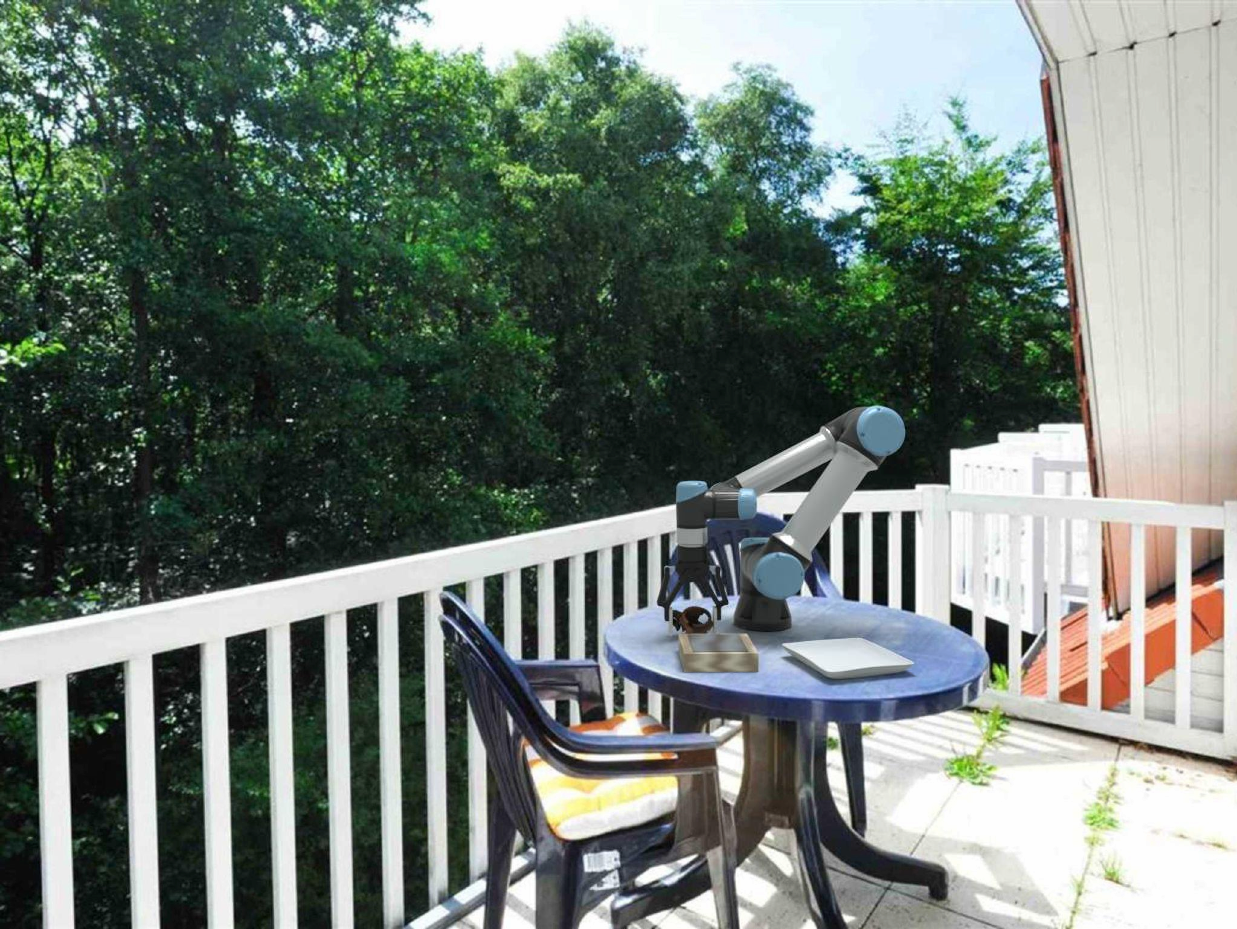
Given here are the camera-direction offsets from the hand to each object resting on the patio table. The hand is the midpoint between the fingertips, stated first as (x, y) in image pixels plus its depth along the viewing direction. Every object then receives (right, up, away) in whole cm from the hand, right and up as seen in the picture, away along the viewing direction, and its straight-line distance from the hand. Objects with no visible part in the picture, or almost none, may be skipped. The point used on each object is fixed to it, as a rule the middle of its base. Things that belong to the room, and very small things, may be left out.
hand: (692, 633), depth 205 cm
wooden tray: (+4, -2, -18) cm, 18 cm away
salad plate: (+32, -3, -22) cm, 39 cm away
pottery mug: (0, -1, +1) cm, 2 cm away
